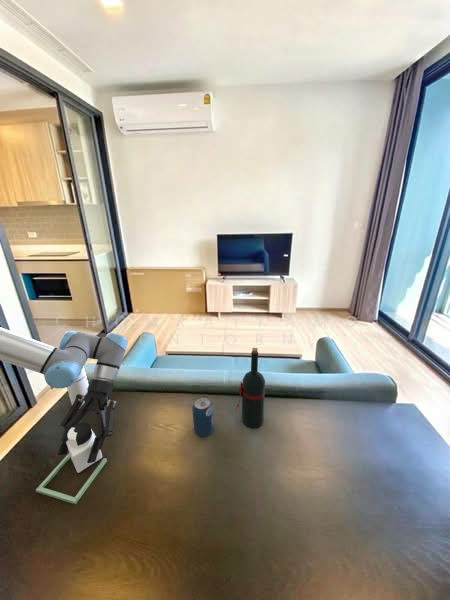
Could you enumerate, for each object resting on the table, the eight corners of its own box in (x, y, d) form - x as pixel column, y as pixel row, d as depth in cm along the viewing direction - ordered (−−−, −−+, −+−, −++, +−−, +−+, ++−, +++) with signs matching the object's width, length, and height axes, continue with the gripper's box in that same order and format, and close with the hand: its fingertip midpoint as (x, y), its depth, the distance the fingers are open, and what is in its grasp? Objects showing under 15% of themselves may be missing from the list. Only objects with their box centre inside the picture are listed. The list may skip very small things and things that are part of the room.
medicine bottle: (94, 443, 82) (87, 415, 78) (102, 457, 78) (95, 428, 73) (70, 457, 78) (61, 429, 74) (77, 474, 73) (68, 444, 69)
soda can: (217, 431, 87) (216, 404, 83) (199, 441, 83) (198, 413, 79) (207, 418, 92) (206, 392, 88) (190, 427, 89) (188, 400, 84)
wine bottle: (236, 410, 96) (236, 342, 85) (263, 412, 95) (266, 343, 84) (234, 427, 88) (234, 354, 78) (263, 429, 87) (267, 356, 77)
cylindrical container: (68, 408, 98) (51, 353, 89) (80, 395, 104) (66, 343, 96) (84, 410, 97) (69, 355, 88) (96, 397, 103) (83, 344, 94)
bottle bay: (36, 492, 69) (35, 489, 69) (72, 451, 80) (71, 449, 80) (75, 504, 66) (74, 502, 66) (107, 460, 77) (106, 458, 77)
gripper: (138, 386, 83) (116, 464, 74) (82, 376, 88) (55, 448, 79) (126, 384, 76) (100, 469, 68) (67, 373, 82) (35, 451, 73)
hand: (76, 458), depth 74 cm, fingers closed on medicine bottle, 9 cm apart
